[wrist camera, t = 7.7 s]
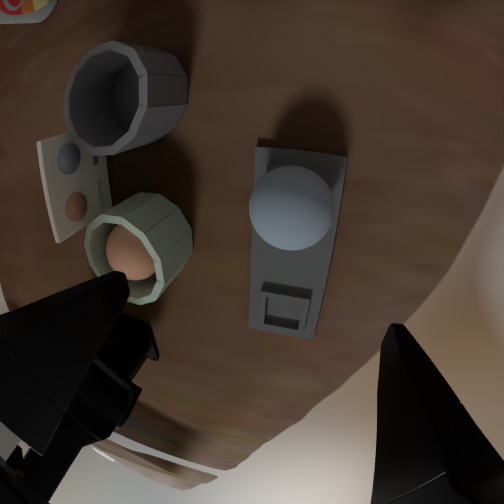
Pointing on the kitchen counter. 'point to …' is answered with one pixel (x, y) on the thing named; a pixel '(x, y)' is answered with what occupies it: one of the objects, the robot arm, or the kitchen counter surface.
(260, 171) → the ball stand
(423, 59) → the kitchen counter surface
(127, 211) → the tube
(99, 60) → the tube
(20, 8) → the lotion bottle
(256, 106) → the kitchen counter surface
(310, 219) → the ball slate
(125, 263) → the ball terracotta
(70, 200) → the dot card
